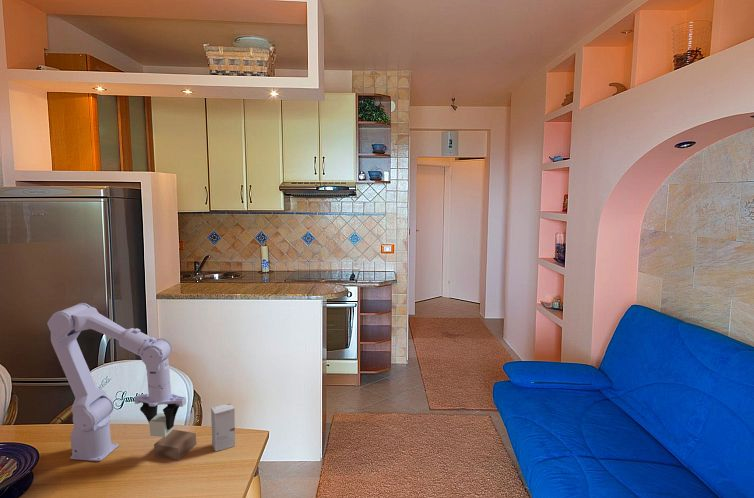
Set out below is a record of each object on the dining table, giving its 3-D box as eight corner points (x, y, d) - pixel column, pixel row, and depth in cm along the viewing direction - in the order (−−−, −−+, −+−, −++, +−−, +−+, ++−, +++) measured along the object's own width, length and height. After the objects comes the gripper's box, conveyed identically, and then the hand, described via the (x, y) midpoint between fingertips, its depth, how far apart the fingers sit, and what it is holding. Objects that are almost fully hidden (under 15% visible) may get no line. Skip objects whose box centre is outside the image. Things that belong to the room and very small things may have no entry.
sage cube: (150, 435, 126) (149, 421, 126) (159, 427, 131) (158, 413, 130) (165, 437, 126) (164, 422, 125) (174, 428, 130) (173, 414, 130)
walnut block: (155, 456, 129) (154, 444, 128) (173, 441, 136) (172, 429, 136) (178, 461, 127) (178, 448, 126) (196, 445, 135) (195, 433, 134)
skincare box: (215, 452, 131) (213, 414, 129) (211, 444, 134) (209, 407, 133) (236, 445, 134) (235, 408, 132) (232, 438, 138) (230, 402, 136)
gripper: (125, 387, 123) (129, 433, 125) (175, 390, 121) (178, 436, 123) (142, 376, 130) (145, 420, 132) (188, 379, 128) (191, 423, 130)
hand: (162, 427), depth 128 cm, fingers closed on sage cube, 4 cm apart
